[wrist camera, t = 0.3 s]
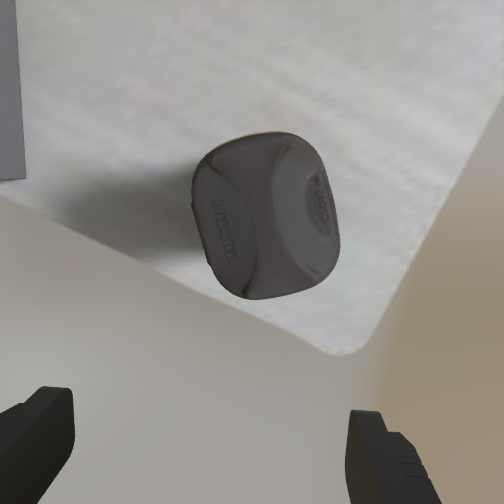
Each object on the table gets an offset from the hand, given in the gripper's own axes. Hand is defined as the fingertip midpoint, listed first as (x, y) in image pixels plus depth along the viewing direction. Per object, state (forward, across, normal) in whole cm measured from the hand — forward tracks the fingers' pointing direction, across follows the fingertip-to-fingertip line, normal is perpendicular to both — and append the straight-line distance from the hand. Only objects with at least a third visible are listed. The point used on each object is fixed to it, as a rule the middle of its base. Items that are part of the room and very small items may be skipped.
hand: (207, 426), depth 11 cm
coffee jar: (+29, -1, -4) cm, 29 cm away
